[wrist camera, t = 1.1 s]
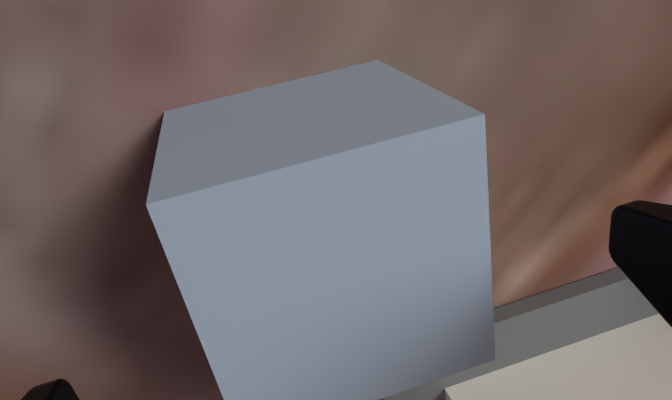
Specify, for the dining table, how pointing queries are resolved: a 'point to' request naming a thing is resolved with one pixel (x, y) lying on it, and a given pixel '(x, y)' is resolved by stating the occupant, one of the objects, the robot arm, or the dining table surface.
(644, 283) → the robot arm
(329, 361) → the top block
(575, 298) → the pale block on slab
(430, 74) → the dining table surface
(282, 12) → the dining table surface
